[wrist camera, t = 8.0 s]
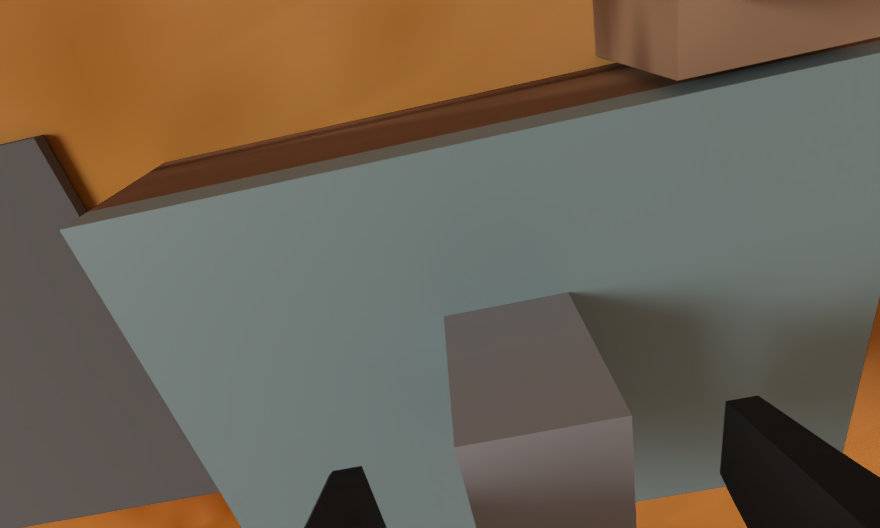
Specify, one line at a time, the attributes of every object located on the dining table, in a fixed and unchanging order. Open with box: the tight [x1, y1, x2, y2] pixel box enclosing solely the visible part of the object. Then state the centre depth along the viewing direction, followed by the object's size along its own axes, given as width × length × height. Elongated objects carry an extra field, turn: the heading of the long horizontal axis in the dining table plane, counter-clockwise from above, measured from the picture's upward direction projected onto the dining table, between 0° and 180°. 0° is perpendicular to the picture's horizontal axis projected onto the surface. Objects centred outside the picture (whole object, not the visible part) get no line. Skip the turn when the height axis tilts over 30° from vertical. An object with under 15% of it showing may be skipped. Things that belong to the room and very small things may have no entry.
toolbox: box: [88, 0, 880, 212], centre depth 13 cm, size 21×18×5 cm
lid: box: [60, 40, 880, 528], centre depth 12 cm, size 12×18×5 cm, turn 102°
